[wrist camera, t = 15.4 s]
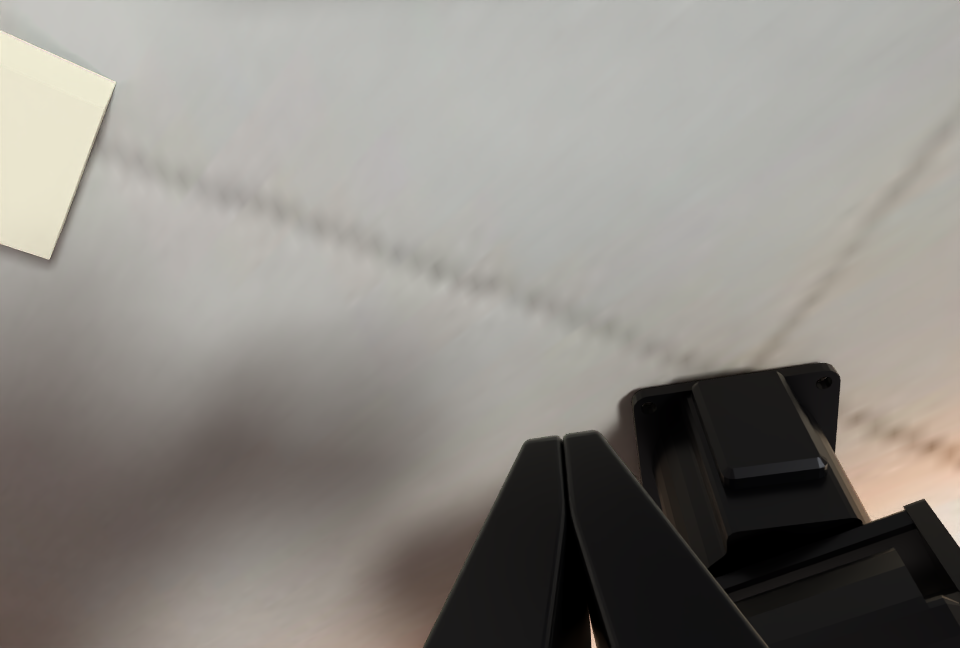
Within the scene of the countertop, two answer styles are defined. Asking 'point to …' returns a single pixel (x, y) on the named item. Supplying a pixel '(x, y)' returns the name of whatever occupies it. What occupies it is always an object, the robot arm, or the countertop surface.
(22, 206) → the domino
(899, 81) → the countertop surface
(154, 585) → the countertop surface
